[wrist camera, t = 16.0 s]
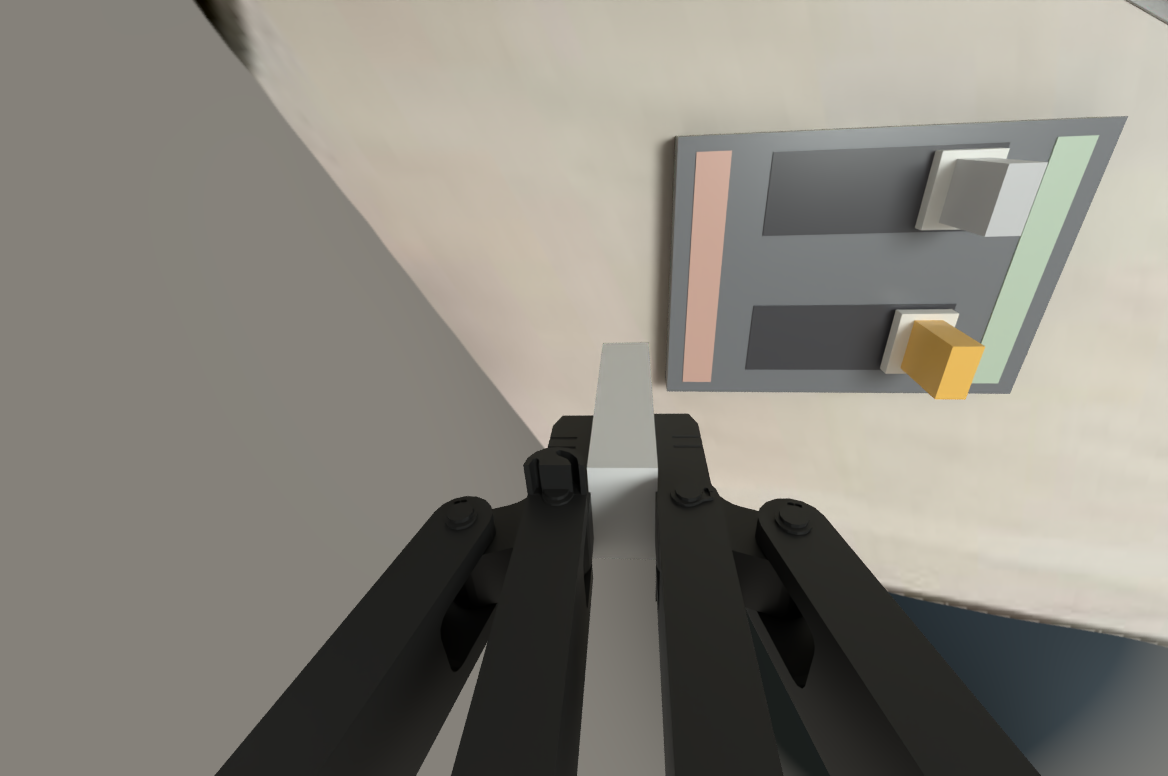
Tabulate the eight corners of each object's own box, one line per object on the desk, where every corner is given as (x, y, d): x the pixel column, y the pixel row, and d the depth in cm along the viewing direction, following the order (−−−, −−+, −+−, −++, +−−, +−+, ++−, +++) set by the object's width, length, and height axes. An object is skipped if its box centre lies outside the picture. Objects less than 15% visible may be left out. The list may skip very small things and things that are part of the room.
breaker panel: (675, 136, 35) (686, 138, 28) (1094, 117, 33) (1231, 113, 25) (665, 378, 45) (671, 428, 37) (990, 379, 42) (1066, 434, 35)
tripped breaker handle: (895, 309, 37) (939, 339, 32) (951, 309, 37) (1004, 339, 31) (879, 368, 39) (917, 405, 34) (932, 368, 39) (978, 405, 34)
